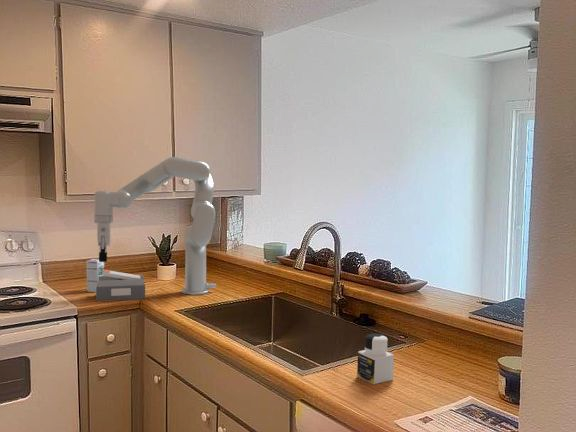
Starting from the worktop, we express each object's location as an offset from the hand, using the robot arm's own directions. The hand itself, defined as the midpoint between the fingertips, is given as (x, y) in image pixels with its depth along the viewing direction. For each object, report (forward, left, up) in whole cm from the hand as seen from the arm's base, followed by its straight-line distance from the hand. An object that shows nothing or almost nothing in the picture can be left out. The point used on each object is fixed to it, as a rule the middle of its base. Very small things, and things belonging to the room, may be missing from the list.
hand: (102, 261), depth 236 cm
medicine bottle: (-73, +115, -16) cm, 137 cm away
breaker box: (-7, 0, -16) cm, 18 cm away
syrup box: (+4, -15, -16) cm, 22 cm away
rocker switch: (-7, 0, -7) cm, 10 cm away
